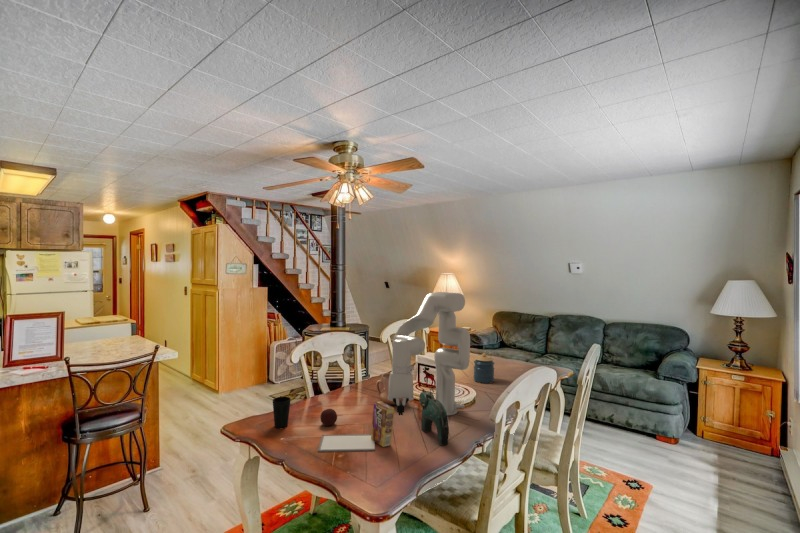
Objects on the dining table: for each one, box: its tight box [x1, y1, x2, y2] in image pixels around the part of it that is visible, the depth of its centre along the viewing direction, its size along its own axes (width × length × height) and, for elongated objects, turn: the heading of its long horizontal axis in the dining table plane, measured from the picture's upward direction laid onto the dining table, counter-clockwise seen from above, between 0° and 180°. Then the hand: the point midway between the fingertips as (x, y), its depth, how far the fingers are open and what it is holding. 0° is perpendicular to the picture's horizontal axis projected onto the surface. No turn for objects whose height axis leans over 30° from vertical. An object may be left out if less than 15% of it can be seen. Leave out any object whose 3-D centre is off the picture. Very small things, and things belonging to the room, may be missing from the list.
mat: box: [317, 433, 376, 453], centre depth 160 cm, size 22×14×1 cm, turn 94°
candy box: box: [370, 400, 395, 448], centre depth 161 cm, size 9×4×15 cm, turn 39°
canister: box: [473, 352, 495, 384], centre depth 251 cm, size 13×13×18 cm
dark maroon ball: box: [320, 408, 338, 427], centre depth 178 cm, size 7×8×7 cm
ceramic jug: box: [375, 372, 402, 406], centre depth 209 cm, size 18×14×14 cm
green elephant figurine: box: [418, 387, 450, 447], centre depth 168 cm, size 20×6×20 cm, turn 23°
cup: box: [272, 396, 291, 430], centre depth 175 cm, size 8×8×12 cm
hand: (400, 414), depth 161 cm, fingers closed
